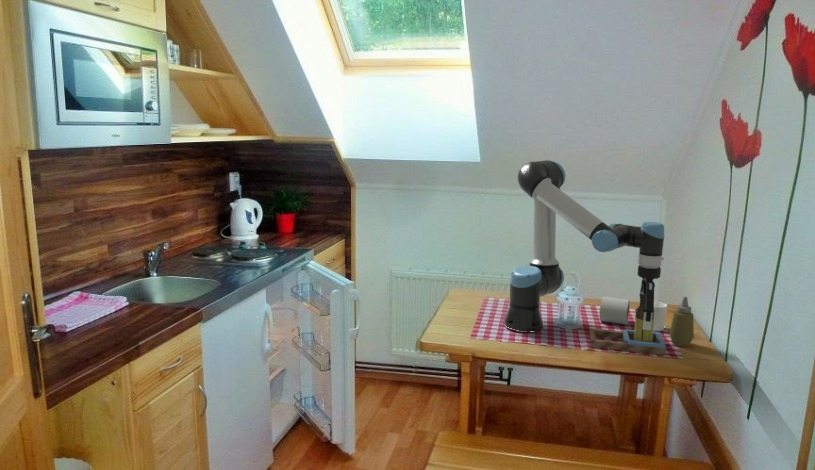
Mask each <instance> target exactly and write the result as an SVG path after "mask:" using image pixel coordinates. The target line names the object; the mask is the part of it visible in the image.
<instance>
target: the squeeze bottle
mask: <svg viewBox="0 0 815 470" xmlns="http://www.w3.org/2000/svg"><path fill="white" fill-rule="evenodd" d="M670 324H671V325H670V330H669V337H670V340H671V343H672V344H673V345H674V346H677V347H682V348H683V347H684V348H685V347H689V346H690V345H691V342H693V339H694V334H695V333H694V313H692V306H690V305H689V301H688V297H687V296H683V298H682V300H681V303H680V304H678V305H677V308H676V310H675V311H674V312H673V316H672V320H671V323H670Z"/></svg>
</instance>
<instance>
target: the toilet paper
mask: <svg viewBox="0 0 815 470" xmlns="http://www.w3.org/2000/svg"><path fill="white" fill-rule="evenodd" d="M630 305H631V301H630V299H623V298H618V297H617V298H616V297H610V296H602V298H601V300H600V309H599V321H600V322H606V323H613V324H618V325H624V326H626V325H628V321H629V317H630Z"/></svg>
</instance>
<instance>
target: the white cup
mask: <svg viewBox="0 0 815 470" xmlns="http://www.w3.org/2000/svg"><path fill="white" fill-rule="evenodd" d="M667 311H668V304H666V303H665V302H661V301H655V300H654V323H653V332H663V331H664V329H665V325H666V324H665V323H666V319H667V314H668V313H667Z"/></svg>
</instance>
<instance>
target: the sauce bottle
mask: <svg viewBox="0 0 815 470" xmlns="http://www.w3.org/2000/svg"><path fill="white" fill-rule="evenodd" d="M639 294H640V295H639V304H640V305H639V304H638V307H637V308H636V309H635V317H634V318H635V320H634V330H635V331H634V340H633V341H642V342H652V338H653V332H654V331H653V323H654V312H653V314H652V325H651V330H644V329H643V317H644V312H643V309H644V310H645V295H644V294H643V292H641V293H640V292H639ZM648 309H651V308H648ZM652 343H653V342H652Z"/></svg>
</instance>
